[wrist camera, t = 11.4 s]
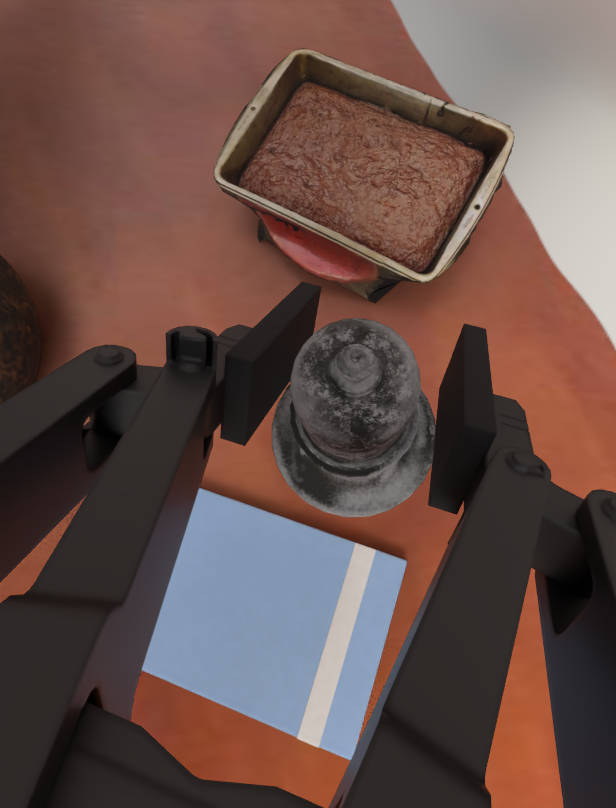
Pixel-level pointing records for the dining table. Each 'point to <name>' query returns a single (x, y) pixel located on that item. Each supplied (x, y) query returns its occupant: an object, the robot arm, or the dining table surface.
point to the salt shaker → (354, 421)
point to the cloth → (276, 620)
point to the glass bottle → (17, 335)
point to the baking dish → (361, 173)
